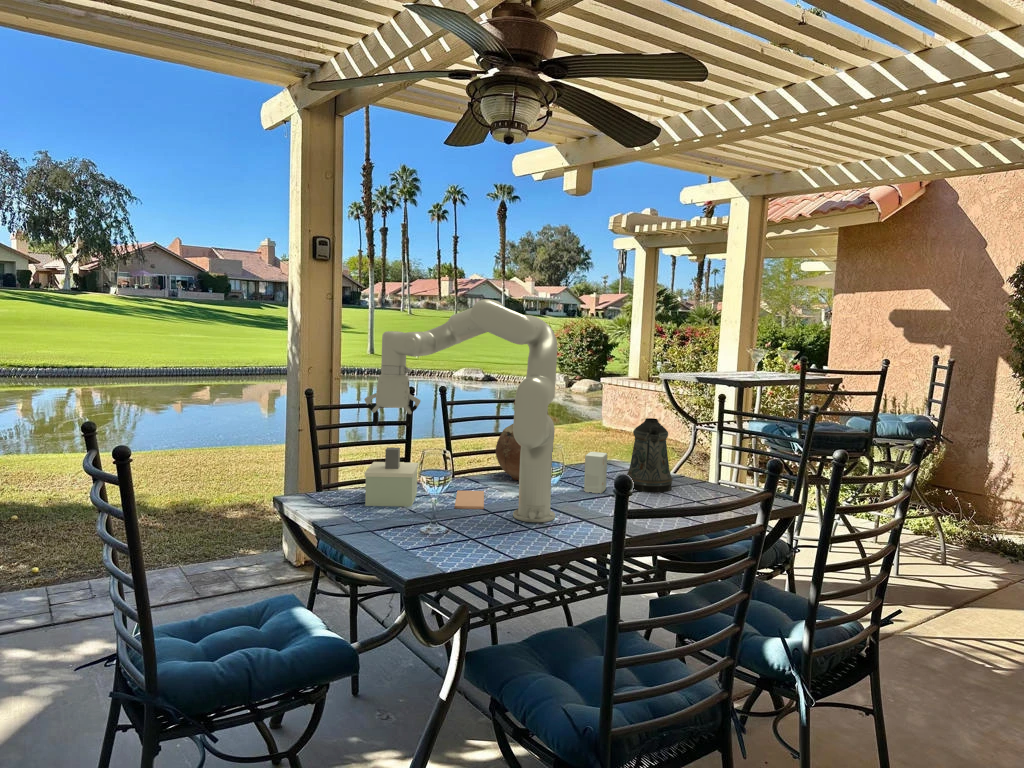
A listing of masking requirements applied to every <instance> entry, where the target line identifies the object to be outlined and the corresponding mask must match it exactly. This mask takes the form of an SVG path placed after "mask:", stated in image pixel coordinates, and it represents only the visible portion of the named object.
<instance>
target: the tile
mask: <svg viewBox="0 0 1024 768" xmlns="http://www.w3.org/2000/svg"><path fill="white" fill-rule="evenodd" d="M454 502H455V503H454V506H453V509H455V510H456V509H457V510H460V509H463V510H484V508H485V491H484V490H457V491H456V497H455V501H454Z"/></svg>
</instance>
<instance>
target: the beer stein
mask: <svg viewBox="0 0 1024 768" xmlns="http://www.w3.org/2000/svg"><path fill="white" fill-rule="evenodd" d="M632 433H633V436H634V442H633V448H632V451H631V453H632V454H631V459H630V464H629V468H628V471H627V474H626V475H629V476H630V477H631V478H632V480H633V482H634V488H633V491H636V490H637V492H642V491H643V493H657V494H658V493H666V492H669V491H670V490H671V489H672V486H673V485H672V484H673V477H672V474H671V470H670V464H669V457H668V454H669V453H668V446H667V439H668V436H669V432H668V430H667V429H666V428H665V426H663V425H662V424H661V423H660V422H659V419H658V418H652V417H651V418H649V417H647V418H645V419H644V421H643V422H642V423H641V424H639V425H638V426H637V427H635V428H634V429H633V432H632ZM634 489H635V490H634Z"/></svg>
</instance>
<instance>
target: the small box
mask: <svg viewBox="0 0 1024 768" xmlns="http://www.w3.org/2000/svg"><path fill="white" fill-rule="evenodd" d="M607 469H608V453H607V452H599V451H589V452H588V453H587V454H585V456H584V480H583V481H584V485H583V492H584V491H585V492H584V493H589V492H592V493H593V494H598V493H600V494H603V492H605V490H607V474H608V473H607V472H608V470H607ZM592 493H591V494H592Z"/></svg>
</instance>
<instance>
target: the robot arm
mask: <svg viewBox="0 0 1024 768" xmlns="http://www.w3.org/2000/svg"><path fill="white" fill-rule="evenodd" d="M486 333H490V334H491V335H494V336H495V337H498V338H501V339H503V340H505V341H508V342H510V343H513V344H514V345H515V344H516V345H521V346H523V345H527V346H528V348H529V349H528V351H529V352H528V356H527V368H526V369H527V370H526V378H524V379H523V380H522V381H521V382H520V383H519V384H518V387H517V388H516V392H515V398H514V402H515V405H514V413H513V423H512V424H513V434H514V438H515V440H516V441H517V443H518V444H519V445H520V446H521V452H520V474H519V481H518V509H515V510H514V511H513V513H512V516H513V518H514V519H516V520H518V521H522V522H526V523H547V522H552V521H553V520H555V518H556V513H555V512H554V511H552V510H551V503H552V502H551V500H552V498H551V497H552V496H551V494H552V469H553V459H552V452H553V448H554V441H555V440H554V439H555V430H556V429H555V424H554V421H553V419H552V417H551V416H550V415H549V405H550V404H551V403H552V402H553V401H554V399H555V394H556V379H557V378H556V377H557V361H558V341H557V337H556V334H555V332H554V331H553V329H552V328H551V326H550V325H549V324H548V323H546V321H544V320H543V319H541V318H539V317H537V316H534V315H529V314H522V313H519V312H517V311H515V310H512V309H510V308H507V307H506V306H504V304H503V303H502V302H500V301H498V300H494V299H488V298H485V299H480V300H478V301H476V302H475V303H474V304H473V305H472V307H469V308H467V309H465V310H463V311H460V312H457V313H455V314H452V315H451V316H450V317H449V318H448V320H447V321H446V322H445V323H442V324H441V325H438V326H436V327H434V328H431V329H428V330H426V331H409V332H403V331H392V330H391V331H387V330H386V331H384V332H383V333H382V338H381V364H380V365H381V366H380V367H381V369H380V370H381V371H380V374H379V375H378V379H377V384H376V392H375V393H373V394H370V395H368V396H366V397H365V398H364V402H365V403H366V407H367V408H368V409H369V410H370V411H371V412H372V423H374V426H376V427H377V426H378V425H379V421H380V419H379V413H380V412H379V409H380V408H393V409H394V408H397V409H404V410H405V412H406V415H405V428H407V427H409V426H410V424H412V413H413V412H414V411H416V410H417V409H418V407H419V405H420V404H421V402H422V401H421V399H419V398H418V397H416V396H414V395H412V394H411V393H410V391H411V390H410V379H409V376H408V375H407V373H411V368H410V367H407V356H408V357H413V358H414V357H424V356H426V357H427V356H430V355H434V354H436V353H438V352H441V351H443V350H446V349H448V348H451V347H453V346H455V345H459V344H461V343H463V342H465V341H468V340H470V339H472V338H475V337H478V336H480V335H483V334H486ZM374 399H375V406H374V404H373V403H372V402H371V400H374ZM410 401H413V402H414V404H413V406H412V407H410V403H411V402H410ZM547 412H548V414H547Z"/></svg>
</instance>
